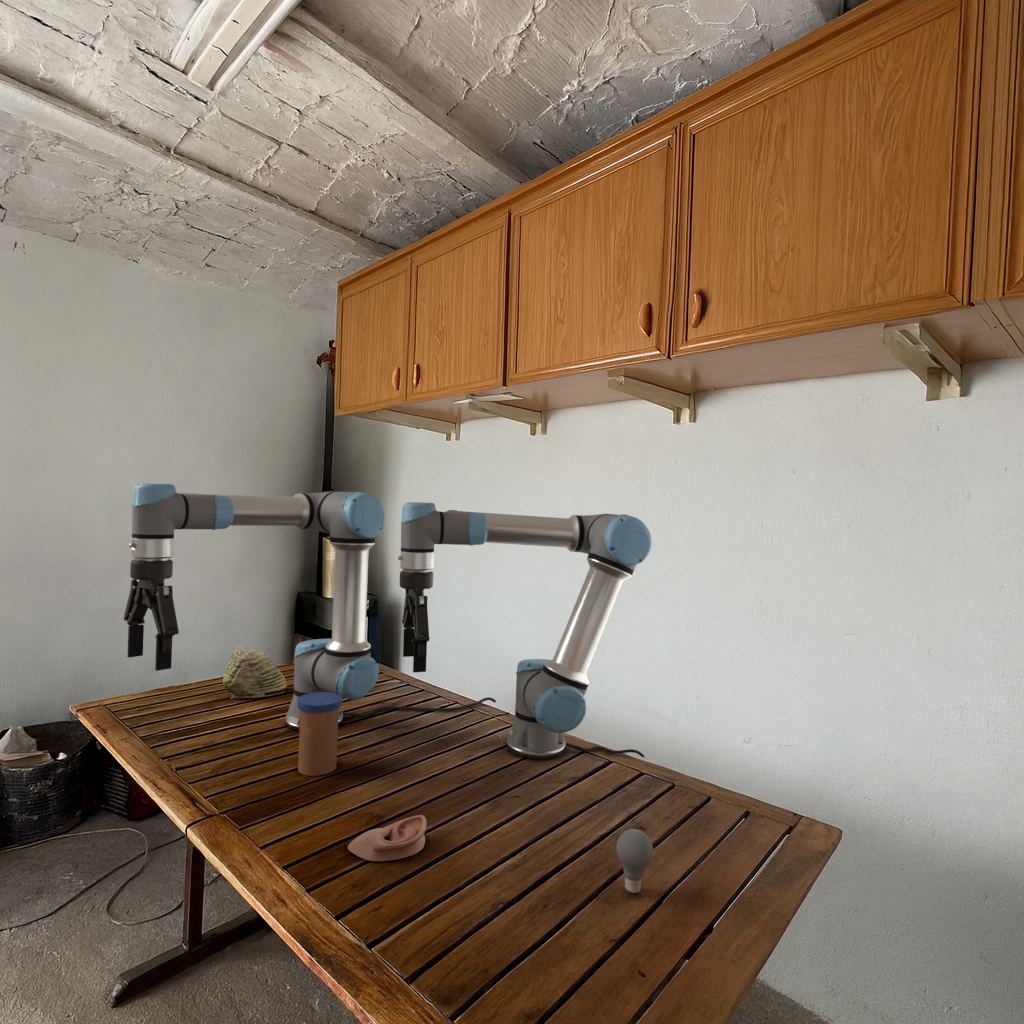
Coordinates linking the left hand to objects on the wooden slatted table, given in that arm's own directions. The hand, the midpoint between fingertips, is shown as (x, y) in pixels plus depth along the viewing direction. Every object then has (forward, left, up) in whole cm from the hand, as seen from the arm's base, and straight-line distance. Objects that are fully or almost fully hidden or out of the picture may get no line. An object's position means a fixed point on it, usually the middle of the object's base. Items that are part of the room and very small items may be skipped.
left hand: (148, 662), depth 129 cm
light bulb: (-41, +90, -28) cm, 103 cm away
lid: (-33, +12, -12) cm, 37 cm away
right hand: (-44, +32, -2) cm, 54 cm away
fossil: (-50, -47, -28) cm, 74 cm away
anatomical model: (-22, +50, -28) cm, 61 cm away
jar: (-33, +12, -28) cm, 45 cm away
